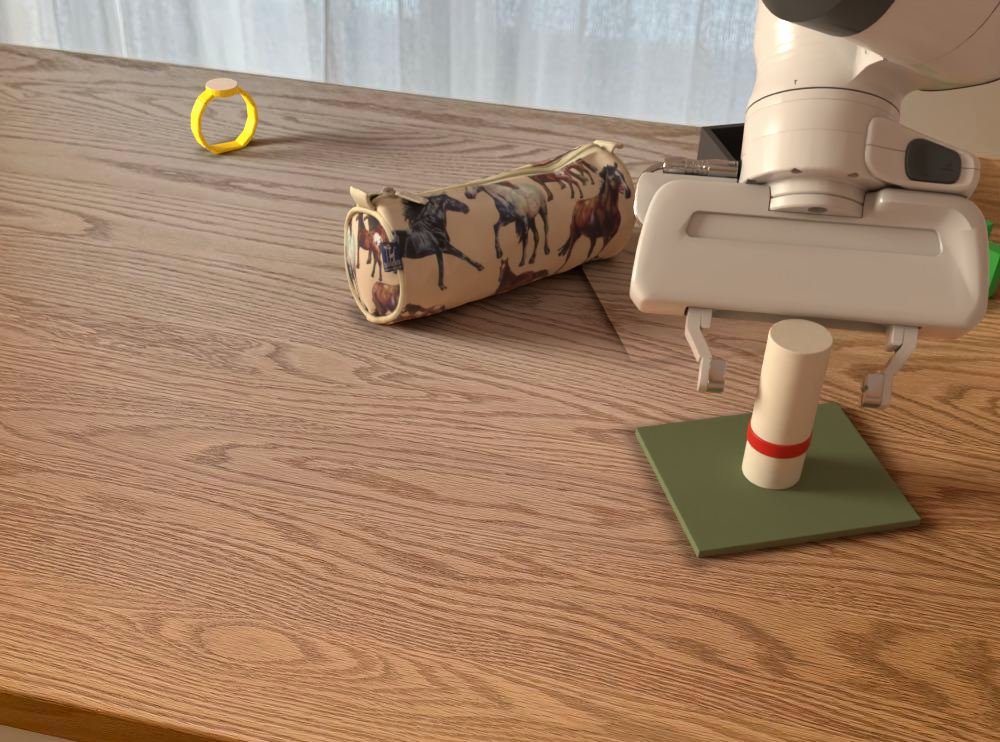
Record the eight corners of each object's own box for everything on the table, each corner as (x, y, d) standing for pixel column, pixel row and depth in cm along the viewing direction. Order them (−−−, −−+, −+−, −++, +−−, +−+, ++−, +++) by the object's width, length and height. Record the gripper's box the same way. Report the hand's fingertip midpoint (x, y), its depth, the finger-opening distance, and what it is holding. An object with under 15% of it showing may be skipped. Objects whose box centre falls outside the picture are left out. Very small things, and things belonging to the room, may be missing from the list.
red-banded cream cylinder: (787, 448, 79) (818, 314, 72) (811, 486, 76) (846, 350, 69) (730, 456, 78) (757, 321, 72) (753, 495, 76) (783, 358, 69)
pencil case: (389, 351, 88) (384, 227, 81) (337, 295, 93) (328, 174, 87) (641, 272, 96) (655, 153, 89) (580, 225, 101) (589, 109, 94)
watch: (205, 164, 109) (196, 98, 105) (191, 152, 111) (180, 87, 107) (265, 146, 112) (258, 80, 108) (249, 135, 113) (242, 70, 109)
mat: (834, 408, 83) (836, 401, 83) (919, 526, 74) (921, 519, 74) (634, 434, 81) (635, 427, 80) (697, 559, 72) (698, 551, 72)
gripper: (640, 134, 71) (614, 373, 71) (1011, 161, 69) (985, 407, 68) (637, 172, 78) (613, 391, 77) (976, 197, 75) (953, 423, 75)
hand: (791, 399), depth 73 cm, fingers open, 8 cm apart
